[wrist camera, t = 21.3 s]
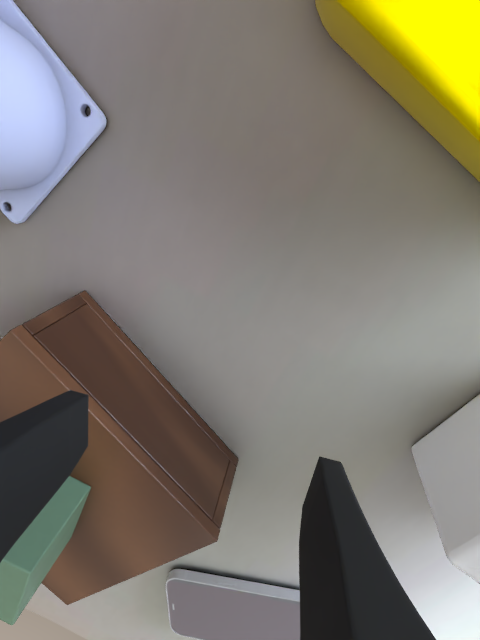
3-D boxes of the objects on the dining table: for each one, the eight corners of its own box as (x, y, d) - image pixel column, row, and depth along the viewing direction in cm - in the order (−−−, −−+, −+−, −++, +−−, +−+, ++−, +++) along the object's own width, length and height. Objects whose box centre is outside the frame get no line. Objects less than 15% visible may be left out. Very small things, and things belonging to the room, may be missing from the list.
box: (118, 522, 29) (80, 591, 25) (-21, 388, 27) (-94, 436, 22) (239, 459, 25) (220, 529, 20) (85, 289, 22) (22, 323, 17)
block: (-1, 499, 21) (-78, 581, 17) (12, 446, 19) (-71, 522, 15) (71, 536, 21) (12, 627, 17) (92, 486, 19) (30, 574, 15)
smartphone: (354, 672, 29) (170, 634, 32) (352, 658, 30) (174, 622, 33) (366, 612, 27) (164, 575, 29) (364, 599, 27) (168, 564, 30)
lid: (73, 594, 25) (66, 605, 24) (-100, 442, 22) (-112, 450, 22) (220, 529, 20) (217, 541, 19) (21, 324, 17) (10, 330, 17)
